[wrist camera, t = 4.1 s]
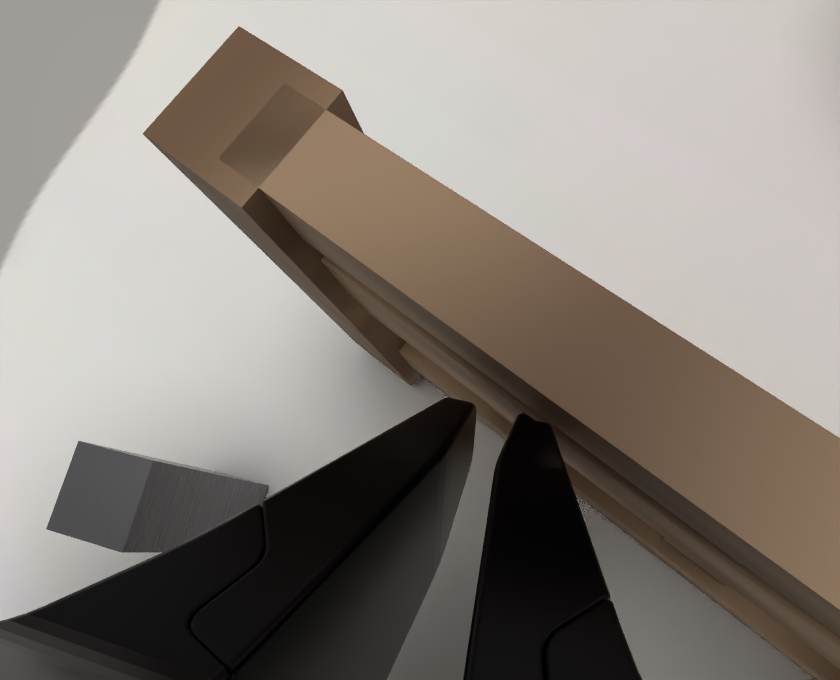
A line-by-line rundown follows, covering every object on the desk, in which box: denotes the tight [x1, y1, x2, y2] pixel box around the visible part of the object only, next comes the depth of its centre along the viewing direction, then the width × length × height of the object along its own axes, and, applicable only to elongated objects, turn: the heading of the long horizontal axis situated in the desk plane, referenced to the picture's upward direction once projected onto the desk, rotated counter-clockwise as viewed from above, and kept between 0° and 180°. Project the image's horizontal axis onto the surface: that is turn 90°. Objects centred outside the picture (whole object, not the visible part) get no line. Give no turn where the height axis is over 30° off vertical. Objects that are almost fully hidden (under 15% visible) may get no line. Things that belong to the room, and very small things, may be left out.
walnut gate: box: [143, 27, 840, 680], centre depth 11 cm, size 13×2×9 cm, turn 51°
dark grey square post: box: [47, 441, 268, 552], centre depth 11 cm, size 2×18×9 cm, turn 76°
